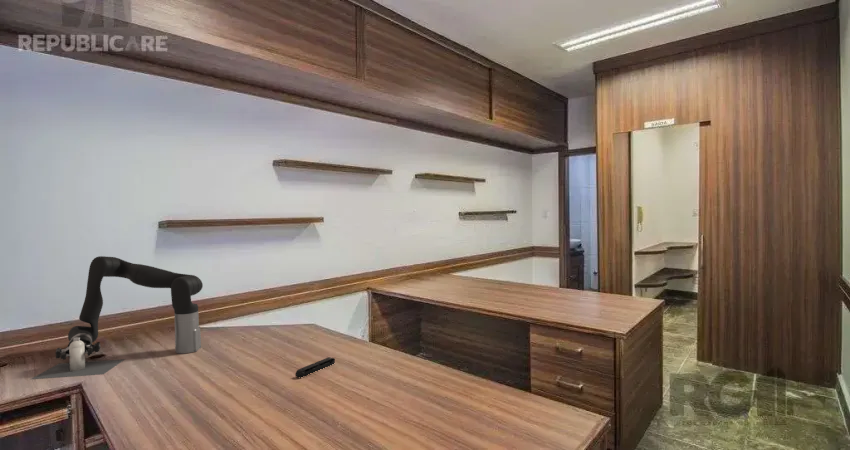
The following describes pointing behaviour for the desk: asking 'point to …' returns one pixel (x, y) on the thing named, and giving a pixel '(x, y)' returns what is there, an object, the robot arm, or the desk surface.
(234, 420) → the desk surface
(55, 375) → the desk mat
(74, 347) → the white domed bottle
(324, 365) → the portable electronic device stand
